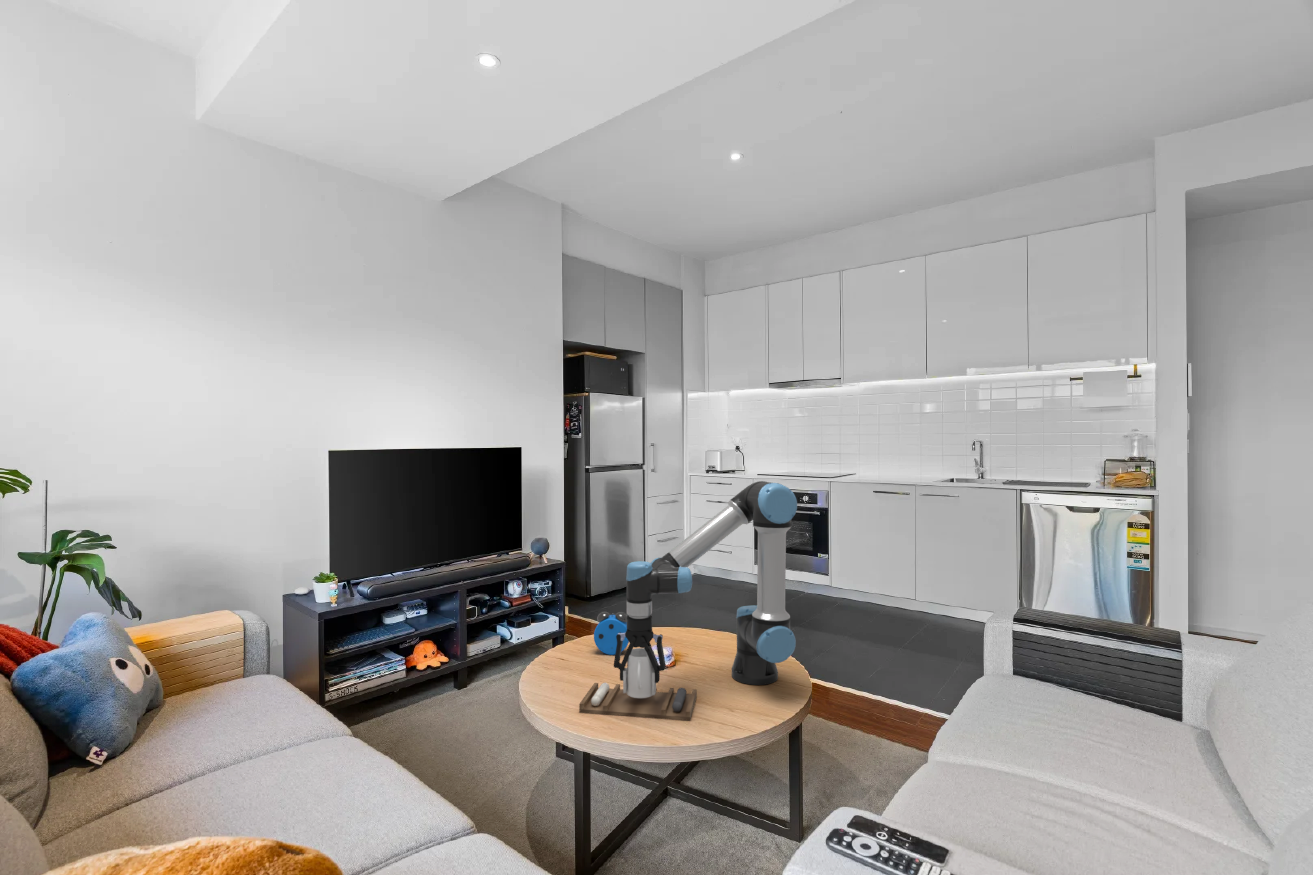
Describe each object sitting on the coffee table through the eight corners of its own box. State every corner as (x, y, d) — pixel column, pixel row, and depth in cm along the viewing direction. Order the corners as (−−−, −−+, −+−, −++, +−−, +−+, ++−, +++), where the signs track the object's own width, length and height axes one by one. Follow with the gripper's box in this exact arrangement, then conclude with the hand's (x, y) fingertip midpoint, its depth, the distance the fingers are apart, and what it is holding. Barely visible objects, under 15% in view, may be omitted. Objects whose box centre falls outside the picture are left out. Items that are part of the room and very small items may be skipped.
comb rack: (696, 697, 189) (696, 689, 189) (690, 720, 173) (690, 711, 173) (594, 690, 195) (594, 682, 195) (579, 712, 179) (579, 703, 179)
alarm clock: (631, 650, 232) (631, 610, 232) (629, 656, 226) (628, 614, 226) (596, 649, 233) (596, 609, 234) (593, 655, 227) (593, 614, 227)
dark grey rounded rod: (687, 695, 188) (687, 686, 188) (681, 713, 176) (681, 703, 176) (677, 695, 189) (677, 685, 189) (671, 713, 176) (671, 703, 176)
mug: (651, 703, 178) (650, 661, 178) (621, 702, 179) (621, 660, 179) (657, 687, 189) (656, 648, 189) (629, 686, 191) (629, 647, 191)
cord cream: (610, 690, 192) (610, 681, 192) (599, 707, 180) (599, 698, 180) (601, 689, 193) (601, 680, 193) (590, 707, 180) (589, 697, 180)
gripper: (675, 613, 186) (676, 689, 186) (608, 610, 190) (608, 685, 190) (672, 620, 179) (672, 699, 179) (602, 616, 182) (602, 695, 182)
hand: (639, 692), depth 184 cm, fingers closed on mug, 8 cm apart
